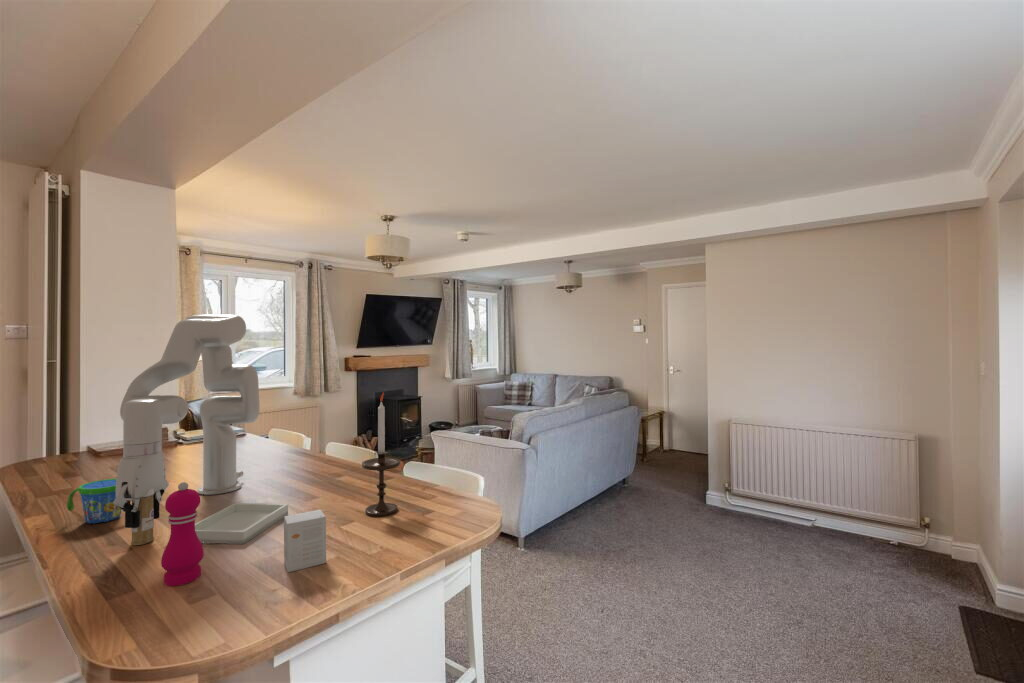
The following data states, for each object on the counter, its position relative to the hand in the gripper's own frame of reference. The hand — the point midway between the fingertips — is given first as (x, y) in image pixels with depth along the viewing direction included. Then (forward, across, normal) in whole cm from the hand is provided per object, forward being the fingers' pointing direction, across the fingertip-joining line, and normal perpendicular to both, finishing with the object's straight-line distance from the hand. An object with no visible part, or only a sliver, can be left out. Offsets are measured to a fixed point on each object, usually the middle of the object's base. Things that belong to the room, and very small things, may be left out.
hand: (142, 522), depth 115 cm
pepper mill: (+5, +17, +24) cm, 30 cm away
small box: (+5, +9, +46) cm, 47 cm away
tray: (+5, -10, +18) cm, 21 cm away
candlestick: (+5, -24, +52) cm, 58 cm away
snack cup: (+5, -14, -24) cm, 28 cm away
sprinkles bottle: (+5, 0, 0) cm, 5 cm away
